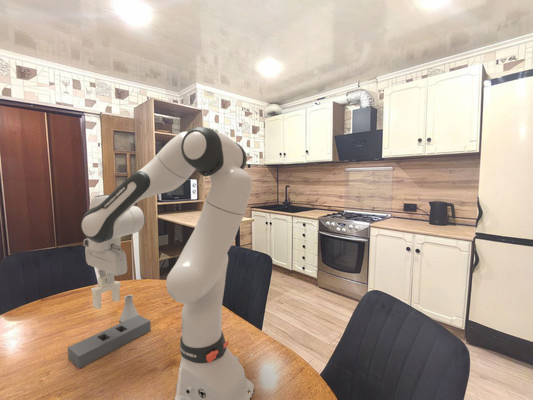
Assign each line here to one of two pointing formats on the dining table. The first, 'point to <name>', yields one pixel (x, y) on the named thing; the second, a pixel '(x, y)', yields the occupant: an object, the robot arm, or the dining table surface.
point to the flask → (128, 309)
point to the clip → (103, 288)
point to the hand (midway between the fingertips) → (106, 282)
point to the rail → (107, 341)
